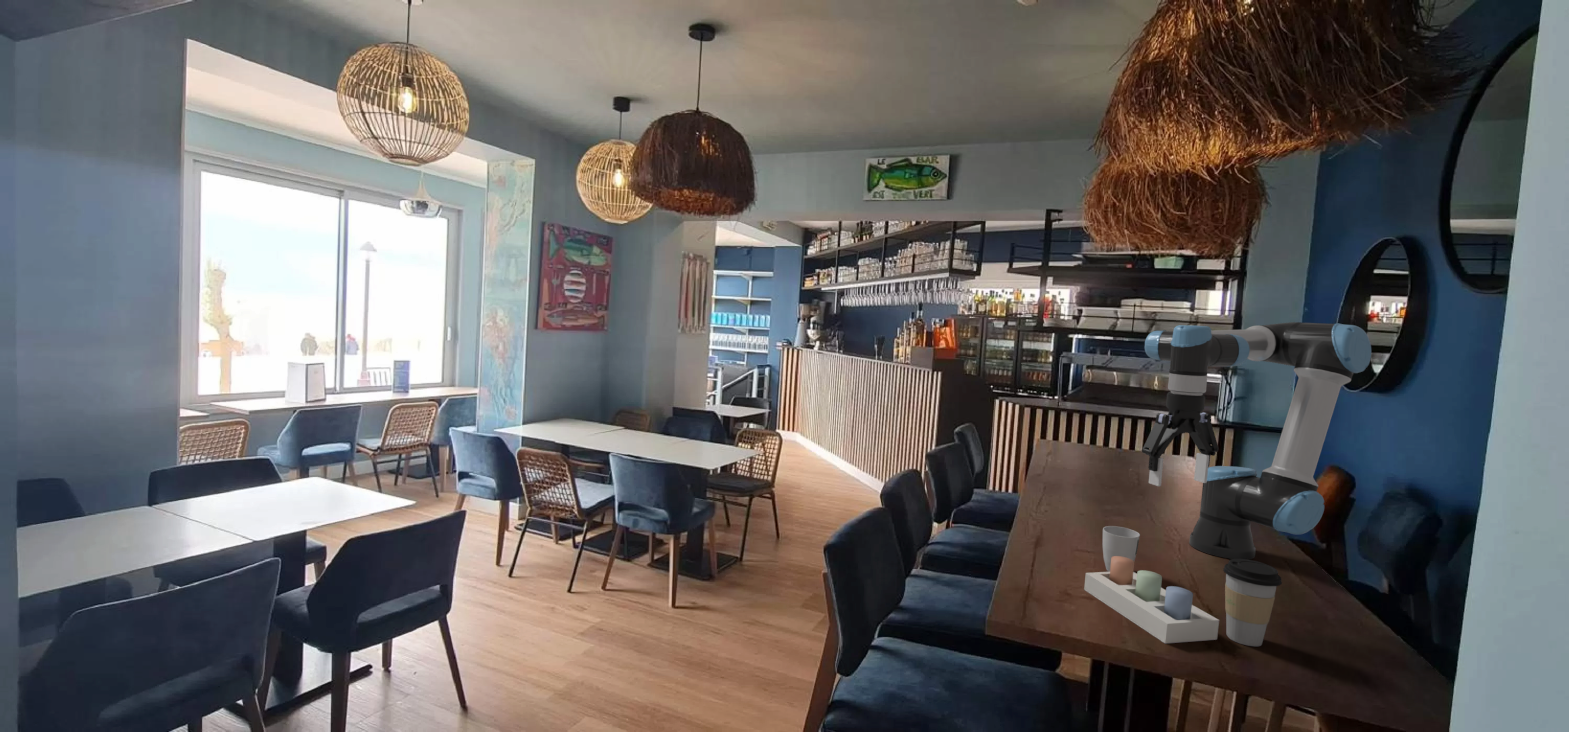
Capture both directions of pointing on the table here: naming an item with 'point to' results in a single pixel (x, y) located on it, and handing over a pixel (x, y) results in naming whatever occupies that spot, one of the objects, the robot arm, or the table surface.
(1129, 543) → the cup
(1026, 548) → the table surface
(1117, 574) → the terracotta cap
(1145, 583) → the sage cap
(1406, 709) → the table surface
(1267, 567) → the coffee cup
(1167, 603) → the slate cap
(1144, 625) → the button board
